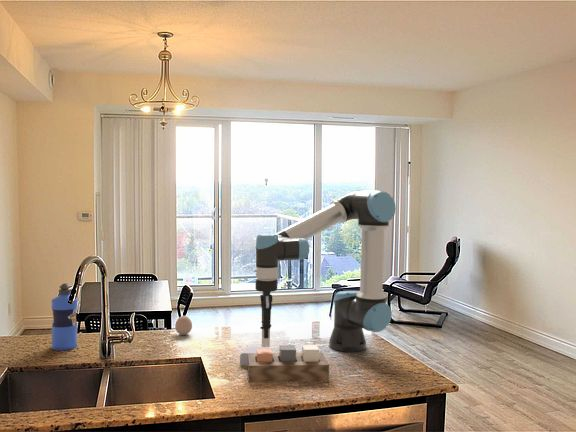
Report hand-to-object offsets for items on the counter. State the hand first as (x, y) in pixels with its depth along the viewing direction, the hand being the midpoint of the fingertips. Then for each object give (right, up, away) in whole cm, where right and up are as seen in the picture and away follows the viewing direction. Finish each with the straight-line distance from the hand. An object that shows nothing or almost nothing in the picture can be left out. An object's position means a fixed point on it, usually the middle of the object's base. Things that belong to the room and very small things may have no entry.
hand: (265, 346), depth 179 cm
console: (+7, -10, +1) cm, 13 cm away
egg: (-38, -7, +45) cm, 59 cm away
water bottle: (-80, -7, +25) cm, 84 cm away
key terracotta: (-1, -8, 0) cm, 8 cm away
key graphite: (+7, -7, +1) cm, 10 cm away
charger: (-4, -9, +16) cm, 19 cm away
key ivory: (+15, -7, +2) cm, 17 cm away
